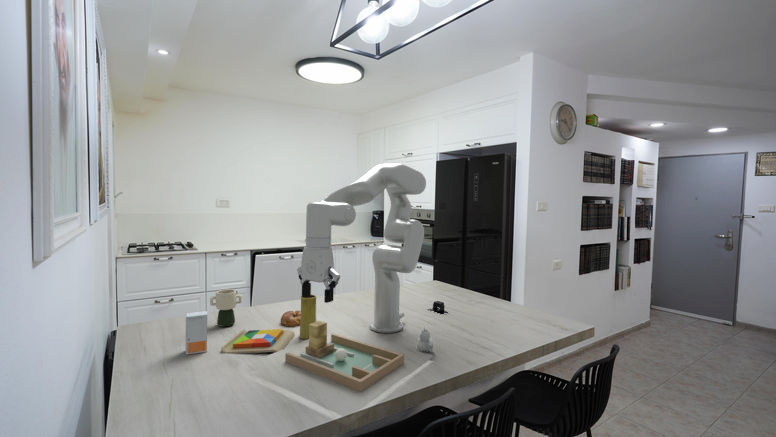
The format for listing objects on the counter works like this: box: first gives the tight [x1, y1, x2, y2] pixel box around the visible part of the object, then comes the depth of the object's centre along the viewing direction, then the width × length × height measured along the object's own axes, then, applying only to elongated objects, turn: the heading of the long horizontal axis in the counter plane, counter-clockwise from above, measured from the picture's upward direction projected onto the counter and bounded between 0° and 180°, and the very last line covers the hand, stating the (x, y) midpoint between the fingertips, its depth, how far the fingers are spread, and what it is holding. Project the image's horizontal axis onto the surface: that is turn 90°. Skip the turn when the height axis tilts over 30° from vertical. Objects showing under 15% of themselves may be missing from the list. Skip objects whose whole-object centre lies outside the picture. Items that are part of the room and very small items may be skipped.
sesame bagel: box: [280, 310, 301, 328], centre depth 144 cm, size 12×11×4 cm
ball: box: [335, 348, 347, 361], centre depth 107 cm, size 4×4×4 cm
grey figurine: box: [416, 327, 434, 354], centre depth 117 cm, size 5×7×8 cm
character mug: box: [209, 288, 243, 327], centre depth 138 cm, size 11×7×13 cm, turn 113°
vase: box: [299, 294, 317, 340], centre depth 129 cm, size 6×6×14 cm
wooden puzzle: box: [221, 328, 295, 355], centre depth 122 cm, size 18×19×4 cm
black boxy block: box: [427, 300, 449, 315], centre depth 161 cm, size 12×7×5 cm, turn 42°
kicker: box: [305, 320, 334, 359], centre depth 112 cm, size 7×6×9 cm
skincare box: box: [185, 310, 208, 356], centre depth 114 cm, size 6×4×12 cm
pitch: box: [284, 333, 405, 393], centre depth 106 cm, size 20×28×4 cm
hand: (317, 299), depth 111 cm, fingers open, 9 cm apart
